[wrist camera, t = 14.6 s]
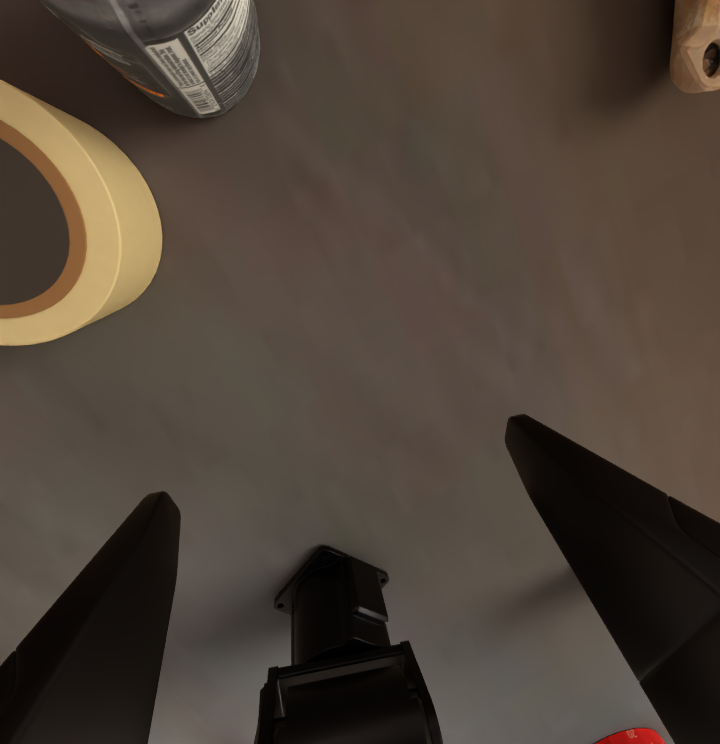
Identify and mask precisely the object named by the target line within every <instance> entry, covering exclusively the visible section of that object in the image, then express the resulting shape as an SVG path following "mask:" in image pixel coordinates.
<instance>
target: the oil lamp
mask: <svg viewBox="0 0 720 744" xmlns="http://www.w3.org/2000/svg"><path fill="white" fill-rule="evenodd" d="M670 77H671V79H672V82H673V83H674V85H675V86H676V87H677V88H679V89H680V90H681V91H683V92H686V93H700V92H707V91H714V90H718V89H720V0H675V10H674V22H673V35H672V47H671V58H670Z"/></svg>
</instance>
